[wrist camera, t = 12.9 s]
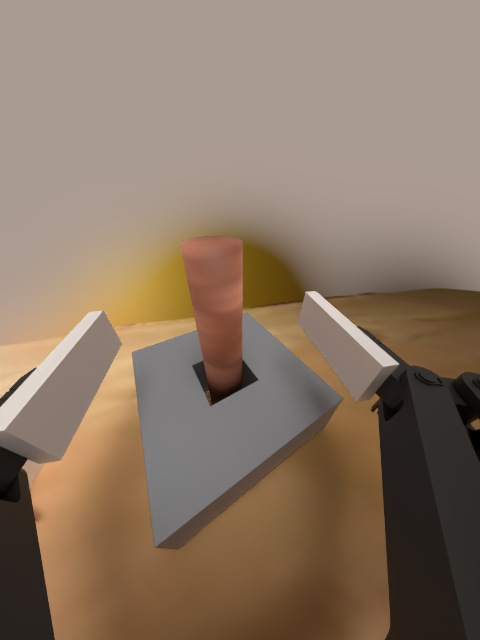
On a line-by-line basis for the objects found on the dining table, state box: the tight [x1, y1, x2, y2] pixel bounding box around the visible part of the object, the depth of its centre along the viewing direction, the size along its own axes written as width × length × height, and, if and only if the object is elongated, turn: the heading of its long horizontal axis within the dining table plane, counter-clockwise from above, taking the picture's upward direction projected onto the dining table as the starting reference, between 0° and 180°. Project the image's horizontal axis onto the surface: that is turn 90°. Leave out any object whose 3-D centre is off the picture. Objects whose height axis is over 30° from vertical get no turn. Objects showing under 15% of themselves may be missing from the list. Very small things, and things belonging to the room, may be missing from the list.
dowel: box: [181, 236, 243, 405], centre depth 14 cm, size 3×3×16 cm
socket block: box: [132, 313, 343, 549], centre depth 17 cm, size 14×14×5 cm
